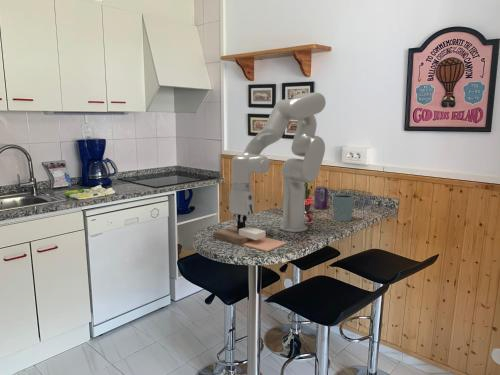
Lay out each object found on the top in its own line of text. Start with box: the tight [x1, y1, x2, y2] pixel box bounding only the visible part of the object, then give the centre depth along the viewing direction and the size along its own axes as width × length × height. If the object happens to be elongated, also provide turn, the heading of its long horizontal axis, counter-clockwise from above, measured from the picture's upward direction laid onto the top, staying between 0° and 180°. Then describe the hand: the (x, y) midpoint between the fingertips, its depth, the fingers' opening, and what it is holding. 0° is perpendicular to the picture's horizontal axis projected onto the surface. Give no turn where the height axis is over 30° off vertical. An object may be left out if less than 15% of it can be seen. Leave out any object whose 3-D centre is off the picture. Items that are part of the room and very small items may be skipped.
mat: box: [242, 237, 288, 253], centre depth 154 cm, size 13×12×1 cm
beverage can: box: [313, 185, 329, 210], centre depth 217 cm, size 7×7×12 cm
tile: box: [239, 225, 267, 240], centre depth 157 cm, size 6×9×2 cm, turn 49°
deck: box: [212, 225, 254, 246], centre depth 162 cm, size 14×15×2 cm
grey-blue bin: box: [332, 193, 355, 222], centre depth 193 cm, size 10×10×12 cm
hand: (241, 230), depth 161 cm, fingers closed
